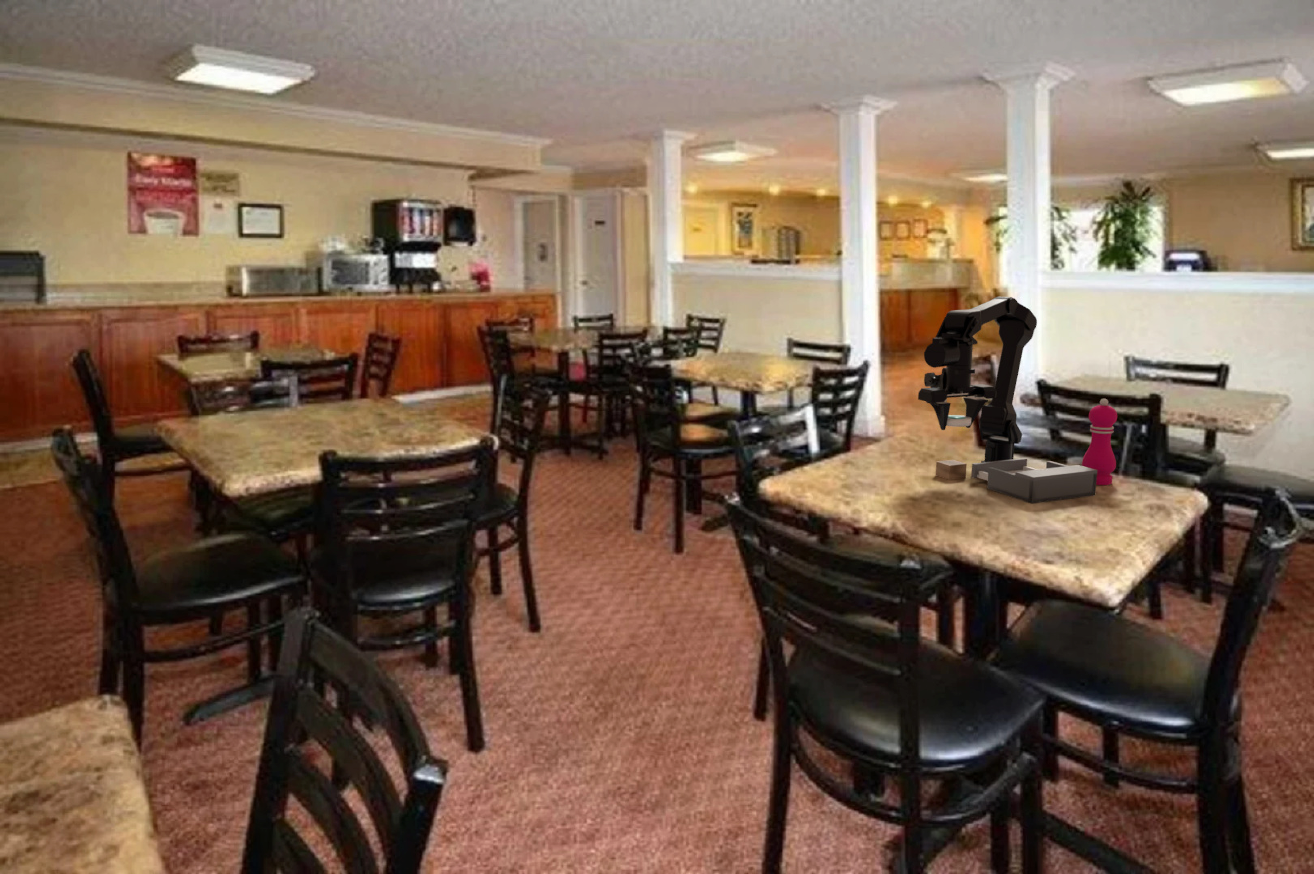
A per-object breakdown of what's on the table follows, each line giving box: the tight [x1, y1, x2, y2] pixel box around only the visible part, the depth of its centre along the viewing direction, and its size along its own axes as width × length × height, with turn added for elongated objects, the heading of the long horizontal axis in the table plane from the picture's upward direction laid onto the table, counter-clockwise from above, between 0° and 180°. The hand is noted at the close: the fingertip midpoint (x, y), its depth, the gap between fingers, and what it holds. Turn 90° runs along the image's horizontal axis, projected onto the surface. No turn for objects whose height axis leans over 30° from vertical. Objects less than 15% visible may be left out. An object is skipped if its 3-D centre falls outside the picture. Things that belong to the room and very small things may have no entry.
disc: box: [946, 414, 972, 428], centre depth 221 cm, size 7×7×2 cm
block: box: [935, 459, 967, 481], centre depth 224 cm, size 5×5×4 cm
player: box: [986, 460, 1097, 504], centre depth 208 cm, size 18×14×6 cm
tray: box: [971, 457, 1038, 482], centre depth 215 cm, size 16×14×3 cm
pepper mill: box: [1081, 398, 1118, 486], centre depth 215 cm, size 7×7×20 cm
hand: (955, 428), depth 222 cm, fingers closed on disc, 7 cm apart
